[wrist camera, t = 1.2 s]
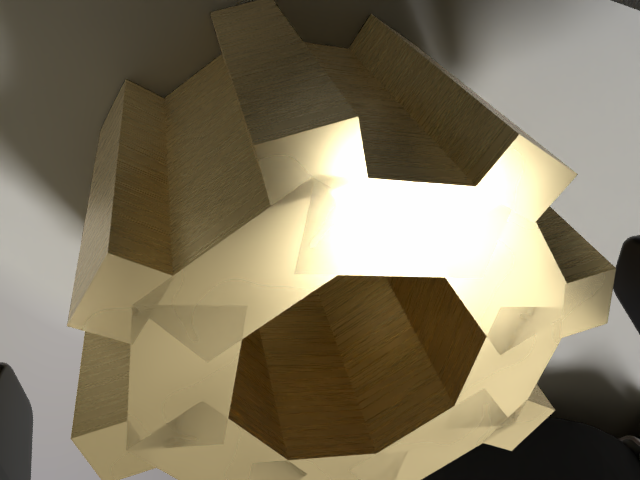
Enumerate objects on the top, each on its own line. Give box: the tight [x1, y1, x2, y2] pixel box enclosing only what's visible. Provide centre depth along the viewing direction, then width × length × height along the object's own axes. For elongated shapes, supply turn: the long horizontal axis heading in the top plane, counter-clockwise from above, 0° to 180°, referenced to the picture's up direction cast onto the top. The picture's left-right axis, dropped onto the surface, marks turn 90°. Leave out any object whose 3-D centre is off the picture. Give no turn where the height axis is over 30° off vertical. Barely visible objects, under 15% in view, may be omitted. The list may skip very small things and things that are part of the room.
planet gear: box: [67, 0, 616, 480], centre depth 9 cm, size 7×7×5 cm
